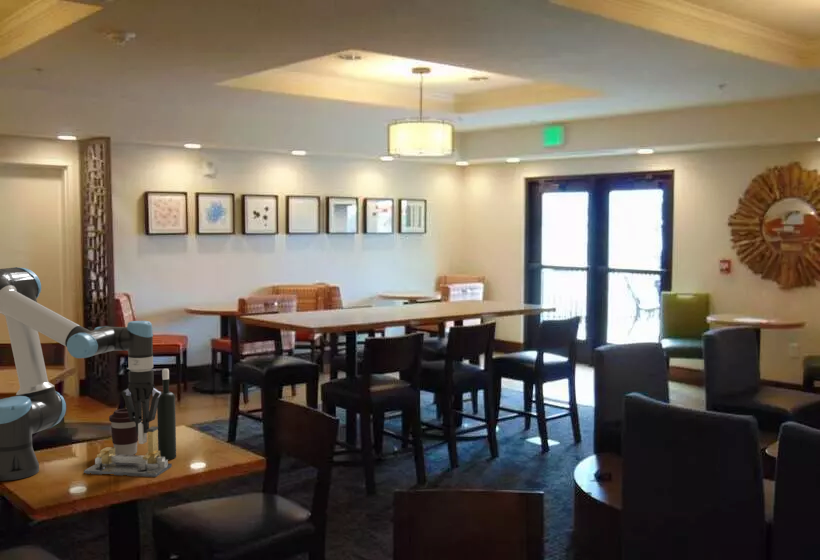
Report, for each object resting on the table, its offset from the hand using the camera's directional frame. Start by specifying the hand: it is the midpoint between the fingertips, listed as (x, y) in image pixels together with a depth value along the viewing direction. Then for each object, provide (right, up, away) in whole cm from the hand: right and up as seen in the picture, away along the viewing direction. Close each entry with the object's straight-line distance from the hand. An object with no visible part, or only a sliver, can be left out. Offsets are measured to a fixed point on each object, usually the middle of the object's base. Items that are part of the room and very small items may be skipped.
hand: (142, 442), depth 256 cm
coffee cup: (-12, -8, +17) cm, 22 cm away
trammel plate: (-4, -9, -1) cm, 10 cm away
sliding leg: (+3, -7, -2) cm, 8 cm away
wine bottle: (+4, -8, +13) cm, 16 cm away
